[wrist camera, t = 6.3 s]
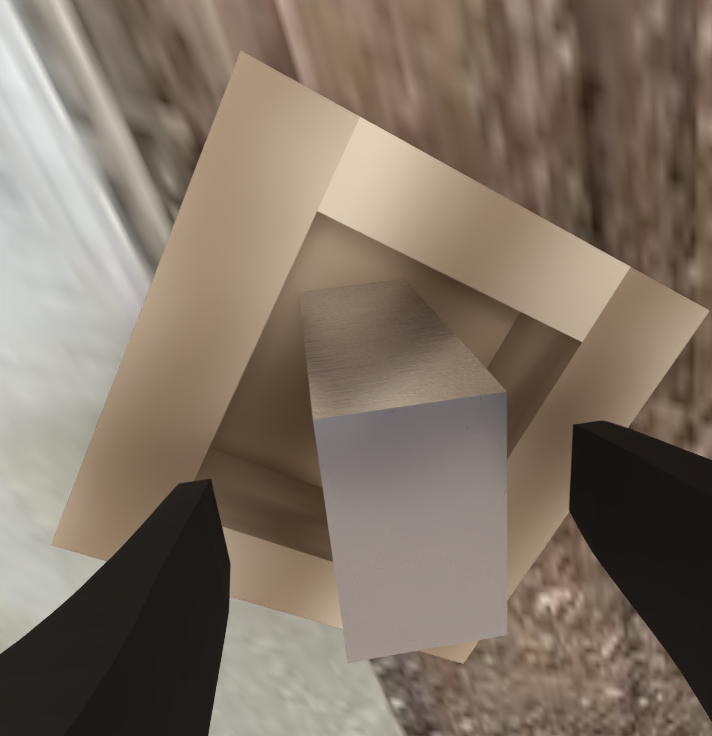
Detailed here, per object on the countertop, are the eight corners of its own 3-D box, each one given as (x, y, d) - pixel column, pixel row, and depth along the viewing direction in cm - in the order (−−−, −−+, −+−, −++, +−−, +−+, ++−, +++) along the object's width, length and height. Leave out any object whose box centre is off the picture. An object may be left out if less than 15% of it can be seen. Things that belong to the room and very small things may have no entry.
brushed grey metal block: (404, 278, 16) (506, 391, 9) (415, 433, 18) (507, 634, 11) (299, 291, 16) (312, 420, 9) (321, 447, 18) (348, 662, 10)
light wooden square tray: (617, 275, 18) (709, 310, 14) (430, 569, 21) (463, 663, 17) (251, 75, 14) (240, 50, 11) (100, 459, 18) (50, 545, 14)
